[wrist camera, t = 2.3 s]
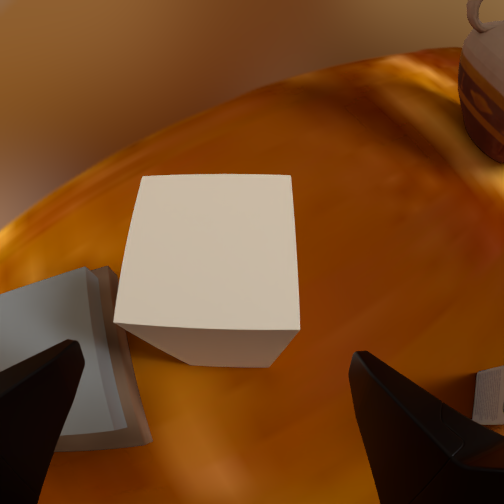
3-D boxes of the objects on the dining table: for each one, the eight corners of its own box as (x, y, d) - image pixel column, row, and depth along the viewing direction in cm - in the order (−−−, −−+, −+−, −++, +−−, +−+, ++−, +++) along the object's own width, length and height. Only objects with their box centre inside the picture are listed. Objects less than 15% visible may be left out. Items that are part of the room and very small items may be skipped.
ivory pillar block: (268, 367, 18) (300, 329, 8) (190, 365, 18) (113, 322, 8) (268, 293, 21) (290, 175, 10) (194, 291, 21) (142, 176, 10)
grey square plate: (156, 439, 17) (144, 445, 14) (27, 448, 15) (8, 449, 13) (120, 278, 22) (107, 265, 19) (8, 311, 20) (-10, 301, 18)
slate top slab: (127, 427, 15) (114, 430, 13) (14, 435, 13) (-3, 436, 12) (98, 278, 19) (85, 266, 17) (-2, 308, 17) (-17, 300, 16)
